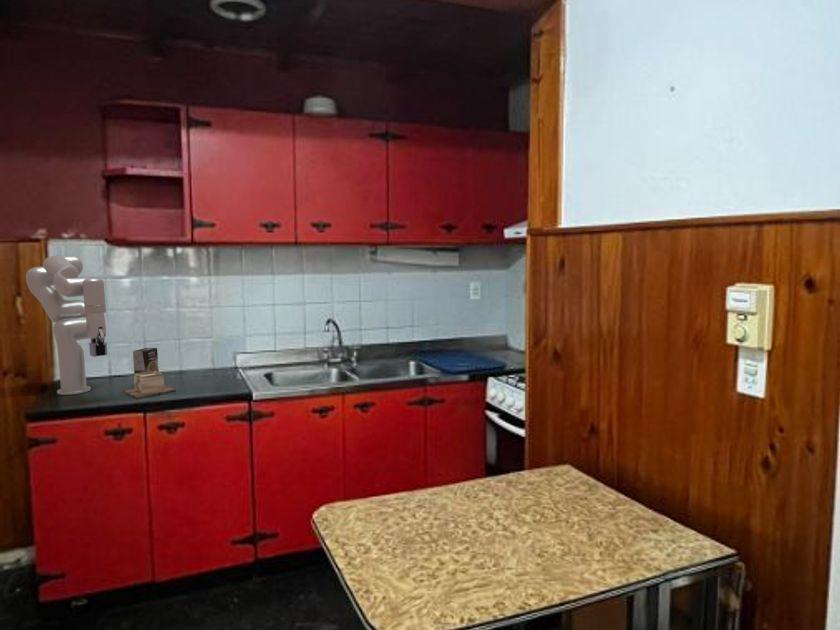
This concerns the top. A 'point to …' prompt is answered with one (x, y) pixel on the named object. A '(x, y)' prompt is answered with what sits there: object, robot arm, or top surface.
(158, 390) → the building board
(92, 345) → the grey cube
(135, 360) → the coffee box
